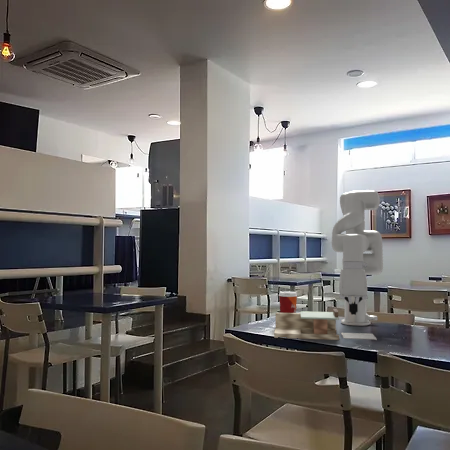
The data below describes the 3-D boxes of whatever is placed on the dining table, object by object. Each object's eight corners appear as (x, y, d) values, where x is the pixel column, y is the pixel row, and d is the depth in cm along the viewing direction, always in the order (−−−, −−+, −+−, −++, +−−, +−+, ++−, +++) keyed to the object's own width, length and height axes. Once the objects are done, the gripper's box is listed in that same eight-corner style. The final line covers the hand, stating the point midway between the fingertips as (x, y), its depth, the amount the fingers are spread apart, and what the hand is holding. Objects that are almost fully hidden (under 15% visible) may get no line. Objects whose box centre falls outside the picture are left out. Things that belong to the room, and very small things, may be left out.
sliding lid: (335, 313, 189) (335, 307, 189) (339, 319, 174) (339, 312, 174) (300, 312, 191) (300, 306, 191) (301, 318, 176) (300, 311, 176)
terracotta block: (326, 334, 183) (326, 316, 183) (327, 337, 178) (327, 319, 178) (313, 334, 184) (313, 316, 184) (314, 337, 179) (314, 318, 179)
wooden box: (335, 332, 190) (335, 314, 190) (339, 340, 174) (339, 320, 174) (275, 330, 193) (275, 312, 194) (274, 338, 177) (274, 318, 178)
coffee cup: (297, 329, 197) (297, 293, 197) (277, 328, 198) (277, 293, 199) (298, 325, 205) (298, 291, 205) (279, 325, 206) (279, 291, 207)
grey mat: (372, 335, 185) (372, 333, 185) (376, 340, 175) (376, 338, 175) (341, 334, 187) (341, 332, 187) (343, 339, 177) (343, 337, 177)
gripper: (371, 266, 183) (371, 313, 182) (332, 265, 185) (332, 312, 184) (374, 266, 175) (375, 316, 175) (334, 266, 178) (334, 315, 177)
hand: (353, 314), depth 180 cm, fingers closed
